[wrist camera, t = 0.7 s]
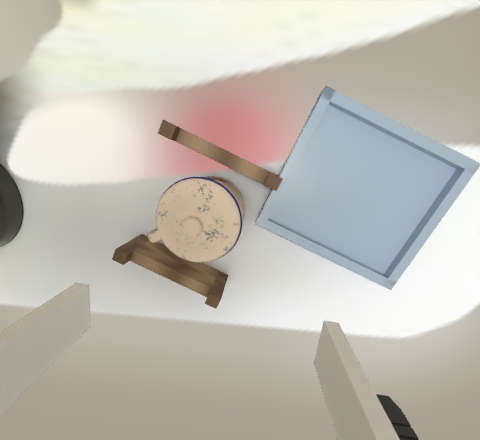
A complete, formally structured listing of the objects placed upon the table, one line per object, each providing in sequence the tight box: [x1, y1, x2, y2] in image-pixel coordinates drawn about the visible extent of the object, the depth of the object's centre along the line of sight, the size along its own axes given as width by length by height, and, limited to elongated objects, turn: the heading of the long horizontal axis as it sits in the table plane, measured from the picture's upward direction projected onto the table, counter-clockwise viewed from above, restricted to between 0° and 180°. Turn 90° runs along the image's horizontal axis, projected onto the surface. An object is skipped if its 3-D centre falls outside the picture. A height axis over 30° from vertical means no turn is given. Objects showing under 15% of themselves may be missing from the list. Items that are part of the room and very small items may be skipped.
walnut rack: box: [112, 120, 283, 308], centre depth 30 cm, size 14×18×6 cm
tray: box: [255, 86, 480, 290], centre depth 30 cm, size 20×18×2 cm
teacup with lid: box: [148, 177, 244, 262], centre depth 27 cm, size 12×9×12 cm
